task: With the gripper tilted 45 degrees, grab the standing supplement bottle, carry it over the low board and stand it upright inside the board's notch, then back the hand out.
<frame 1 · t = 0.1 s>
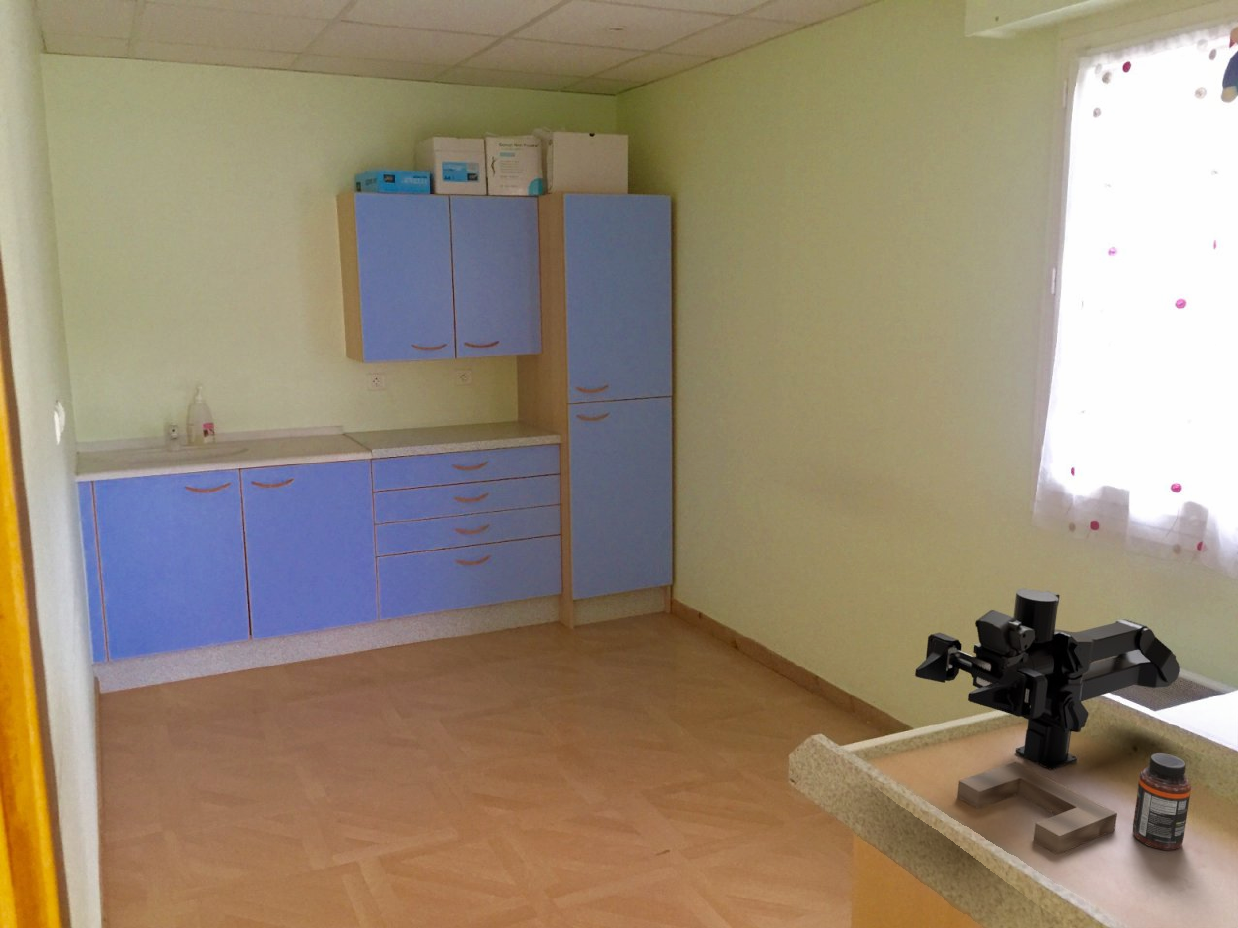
hand: (942, 684, 141), 17 cm above the worktop, tool horizontal, fingers open, 9 cm apart
supplement bottle: (1156, 840, 136), on the worktop
notched board: (1024, 816, 140), on the worktop
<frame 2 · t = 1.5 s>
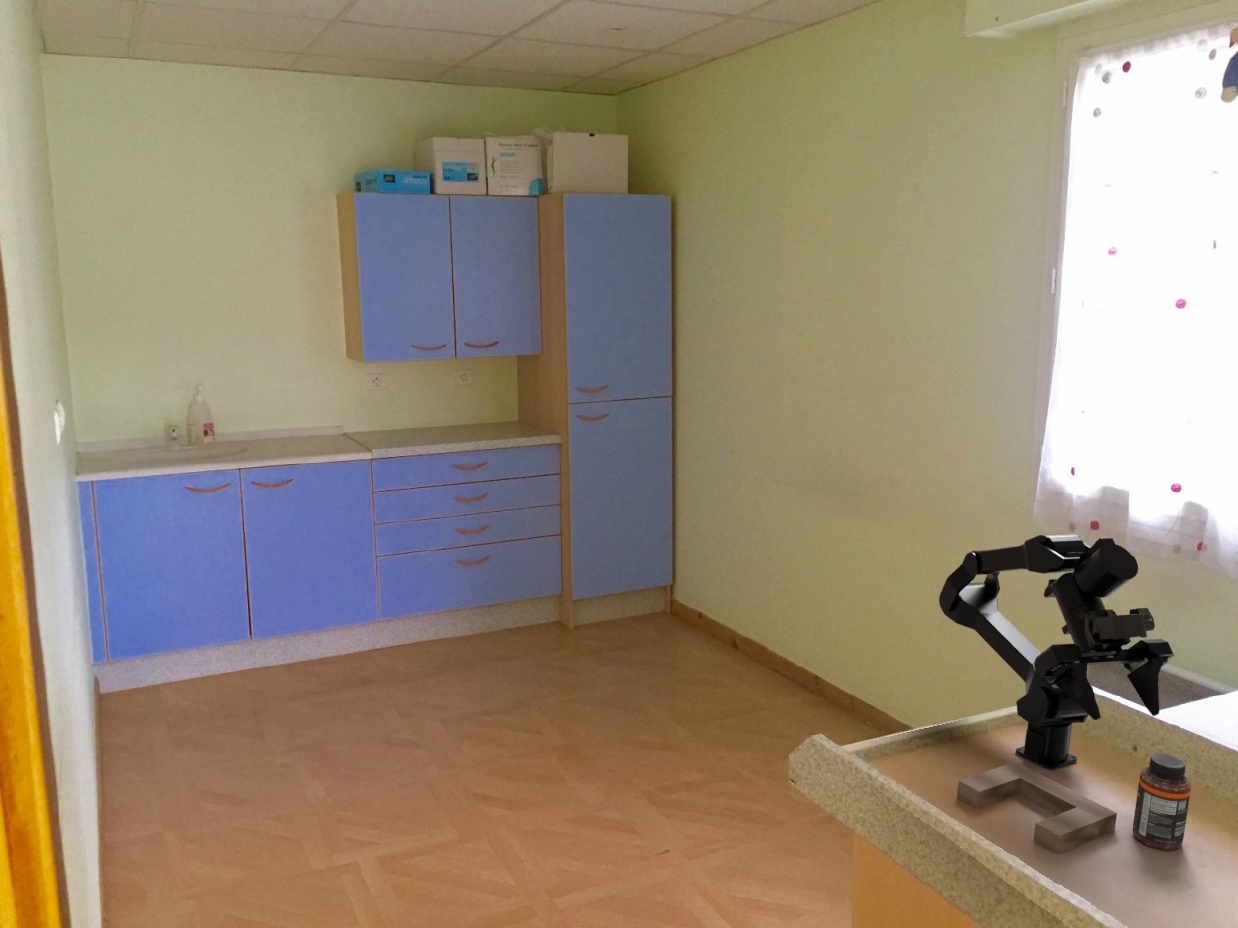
hand: (1127, 716, 141), 13 cm above the worktop, tool tilted 45°, fingers open, 9 cm apart
nothing on the worktop moved.
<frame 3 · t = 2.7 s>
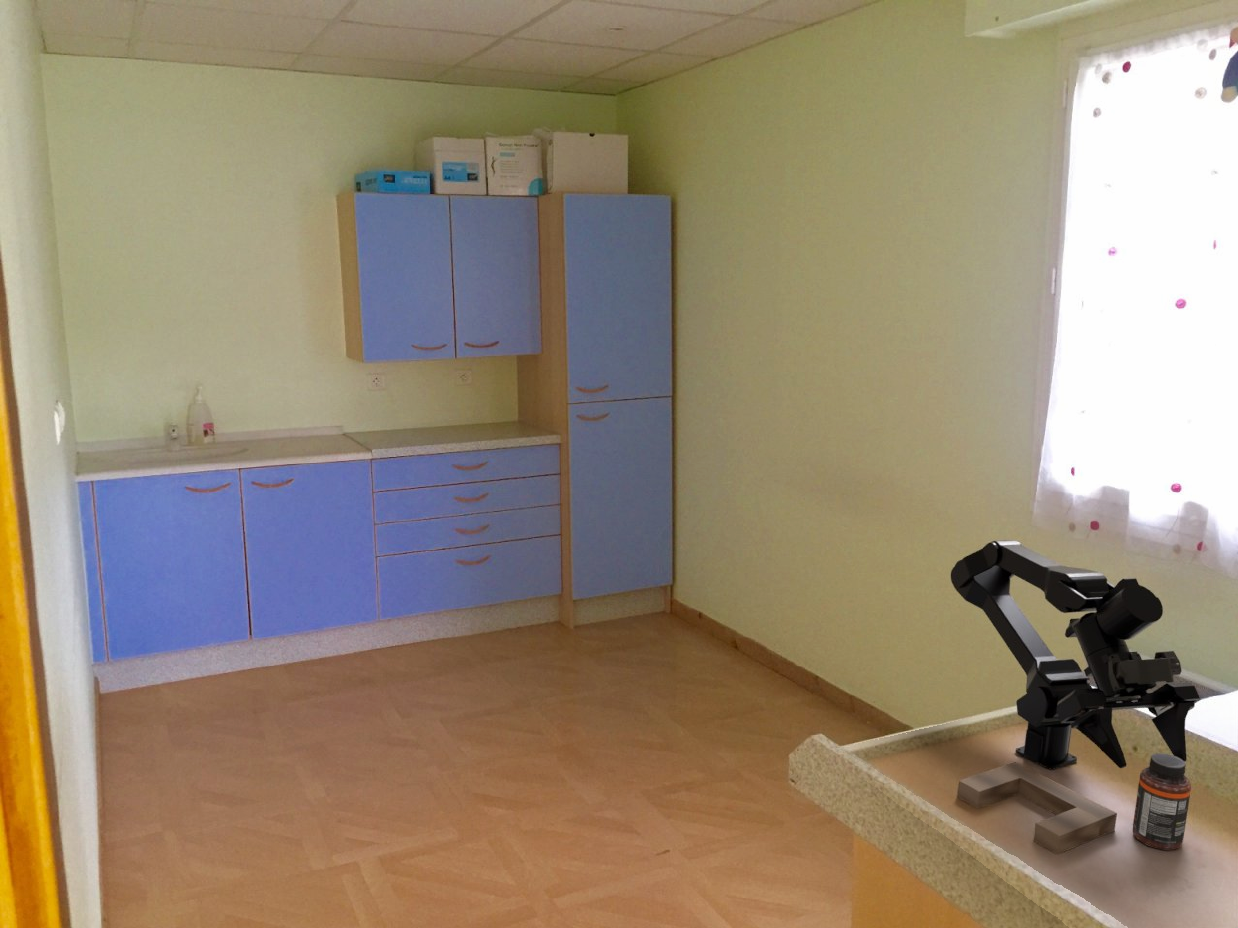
hand: (1153, 764, 136), 9 cm above the worktop, tool tilted 45°, fingers open, 9 cm apart
nothing on the worktop moved.
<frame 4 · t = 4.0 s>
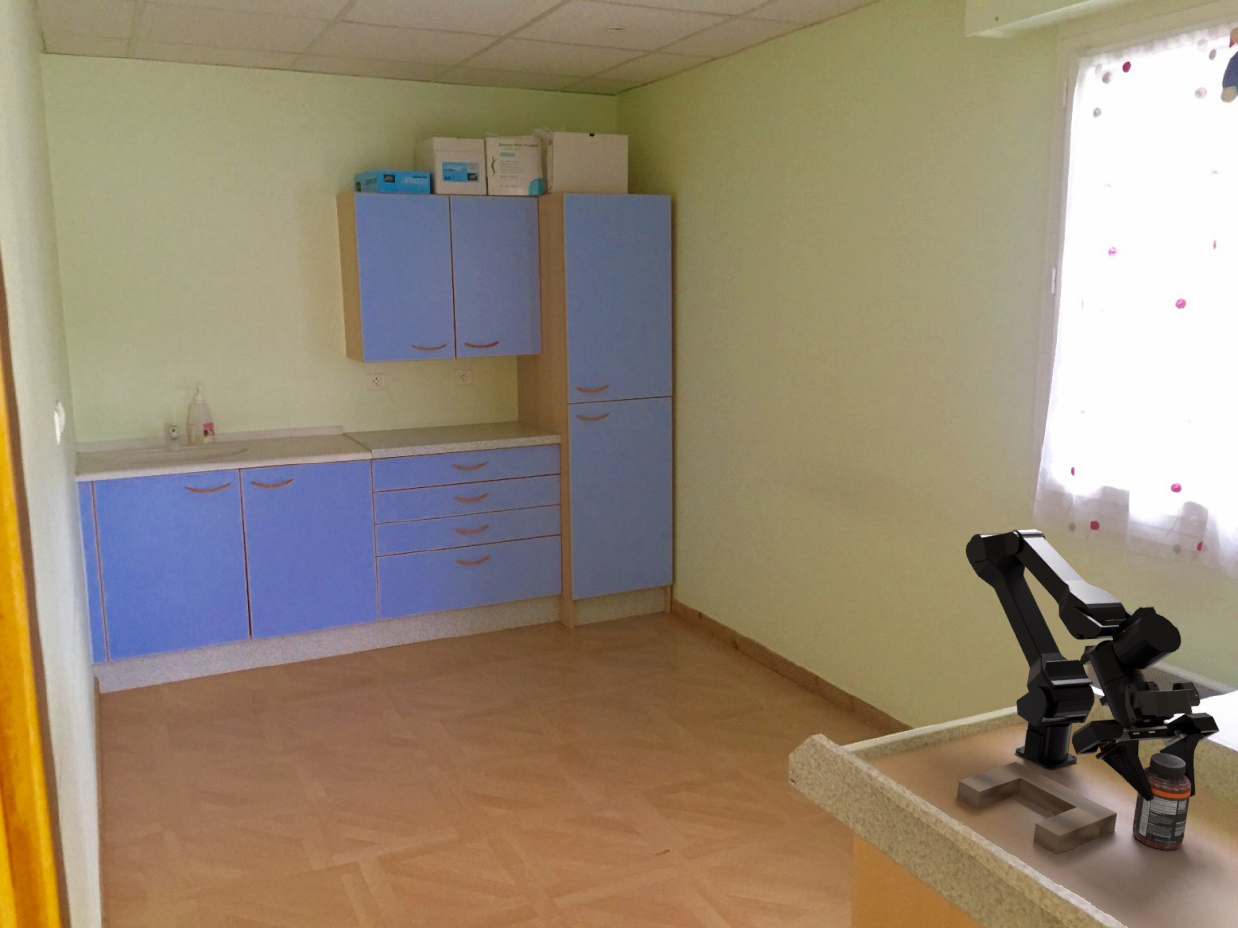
hand: (1171, 798, 133), 7 cm above the worktop, tool tilted 45°, fingers closed on supplement bottle, 6 cm apart
supplement bottle: (1156, 840, 136), on the worktop, touching gripper
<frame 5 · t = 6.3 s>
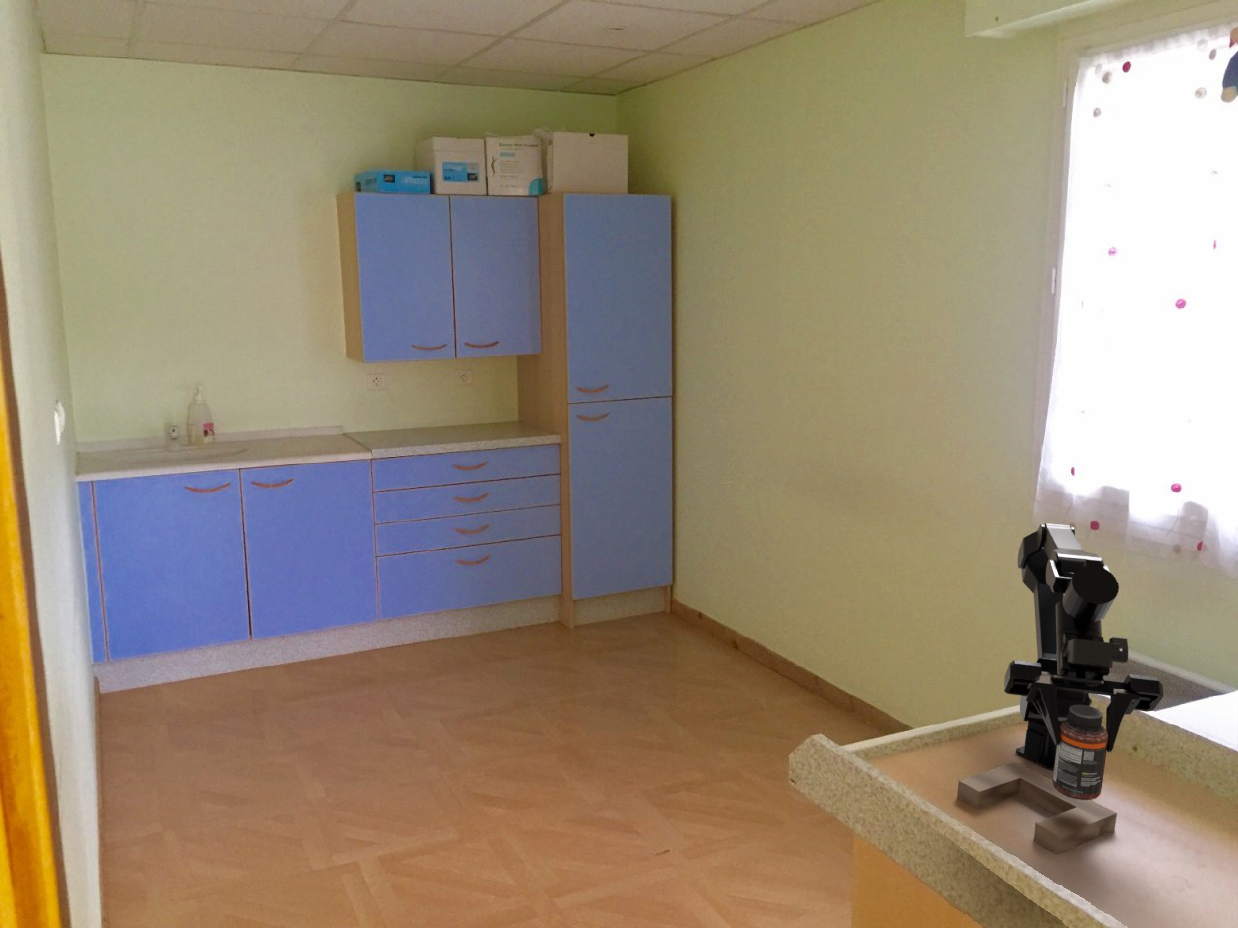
hand: (1083, 747, 134), 12 cm above the worktop, tool tilted 45°, fingers closed on supplement bottle, 6 cm apart
supplement bottle: (1075, 791, 136), point 5 cm above the worktop, touching gripper
when the fingers open (8 cm above the worktop, at t = 8.3 s): supplement bottle drops 1 cm, on the worktop.
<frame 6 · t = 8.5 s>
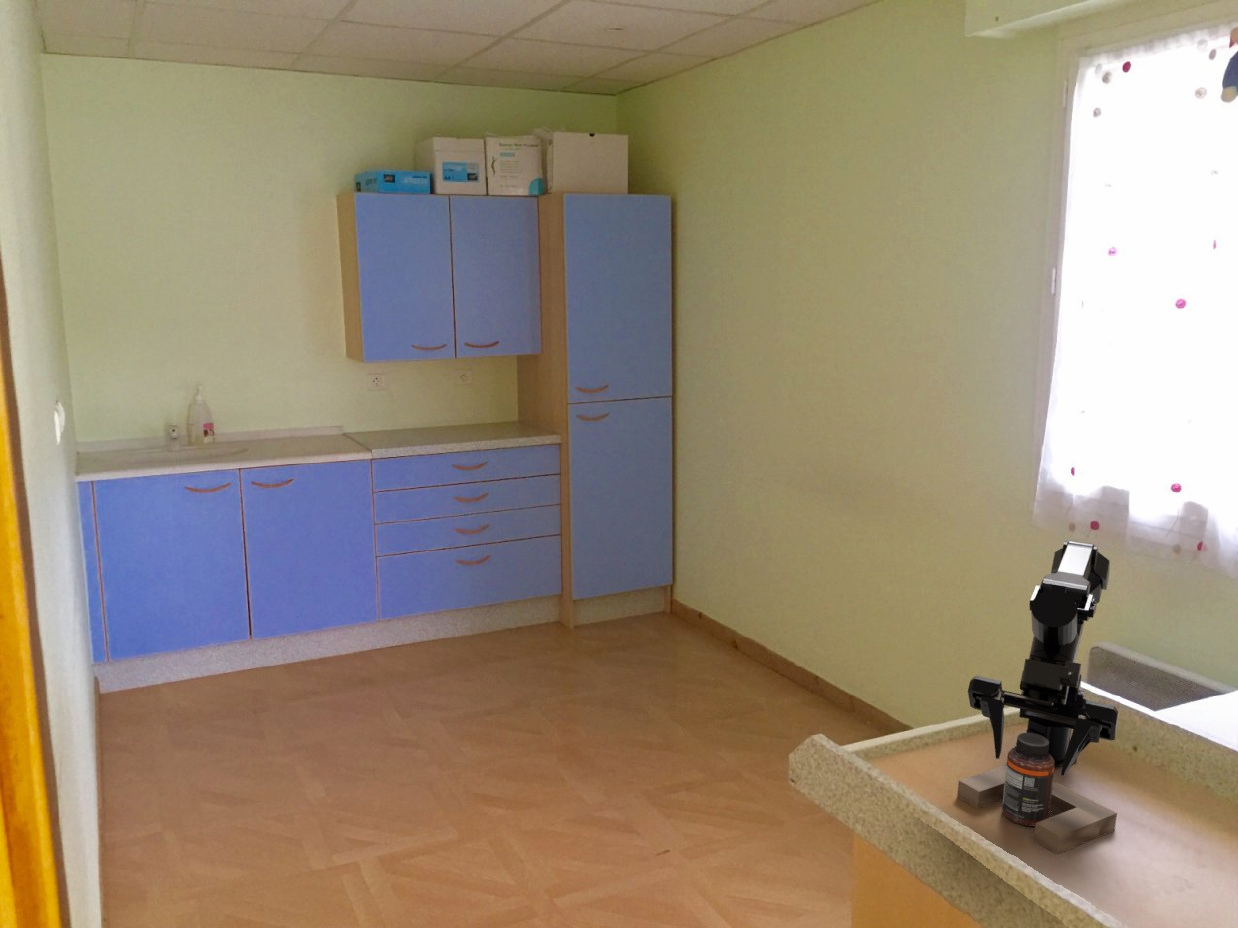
hand: (1029, 765, 137), 8 cm above the worktop, tool tilted 45°, fingers open, 8 cm apart
supplement bottle: (1024, 817, 140), on the worktop
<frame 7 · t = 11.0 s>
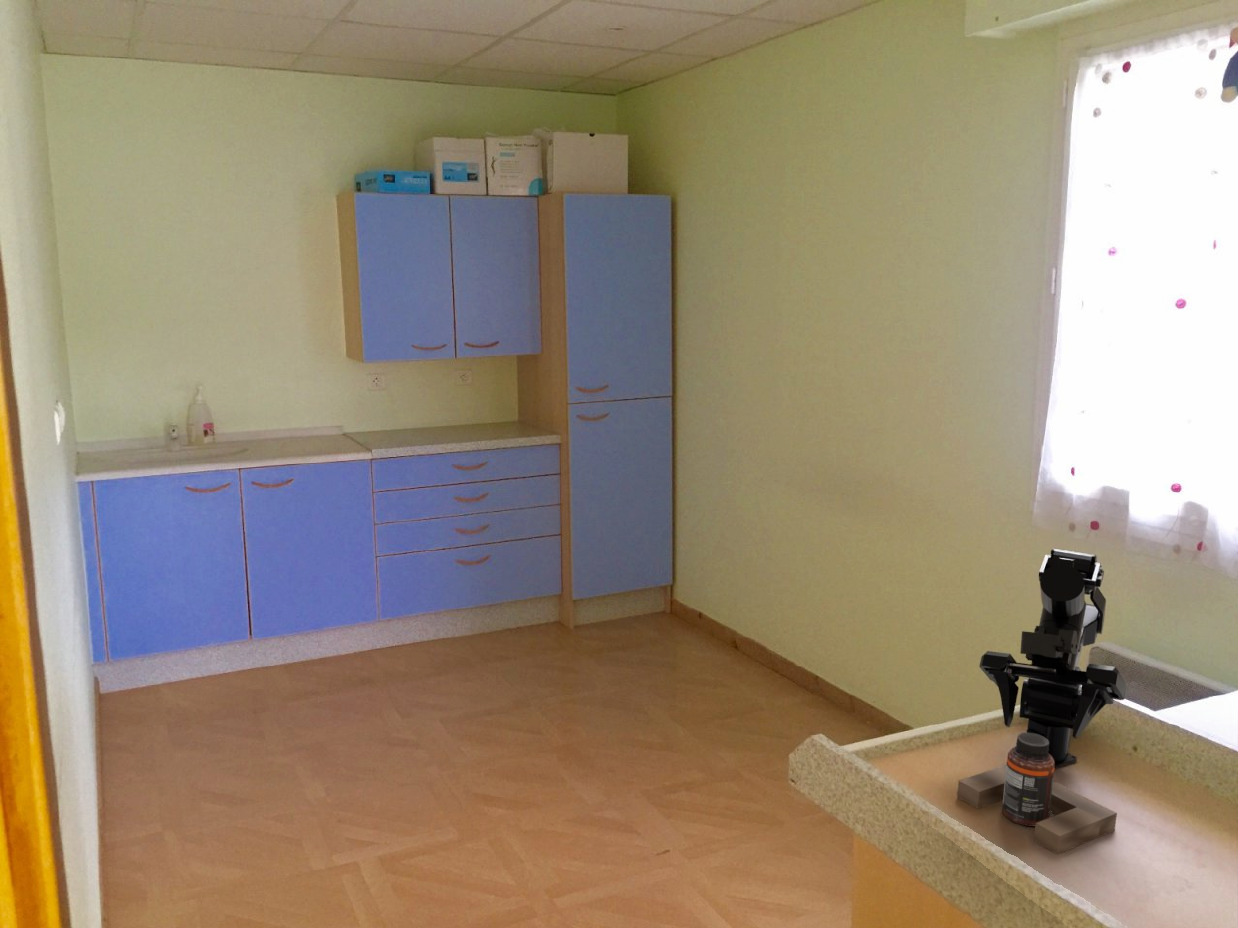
hand: (1040, 731, 145), 9 cm above the worktop, tool tilted 40°, fingers open, 9 cm apart
nothing on the worktop moved.
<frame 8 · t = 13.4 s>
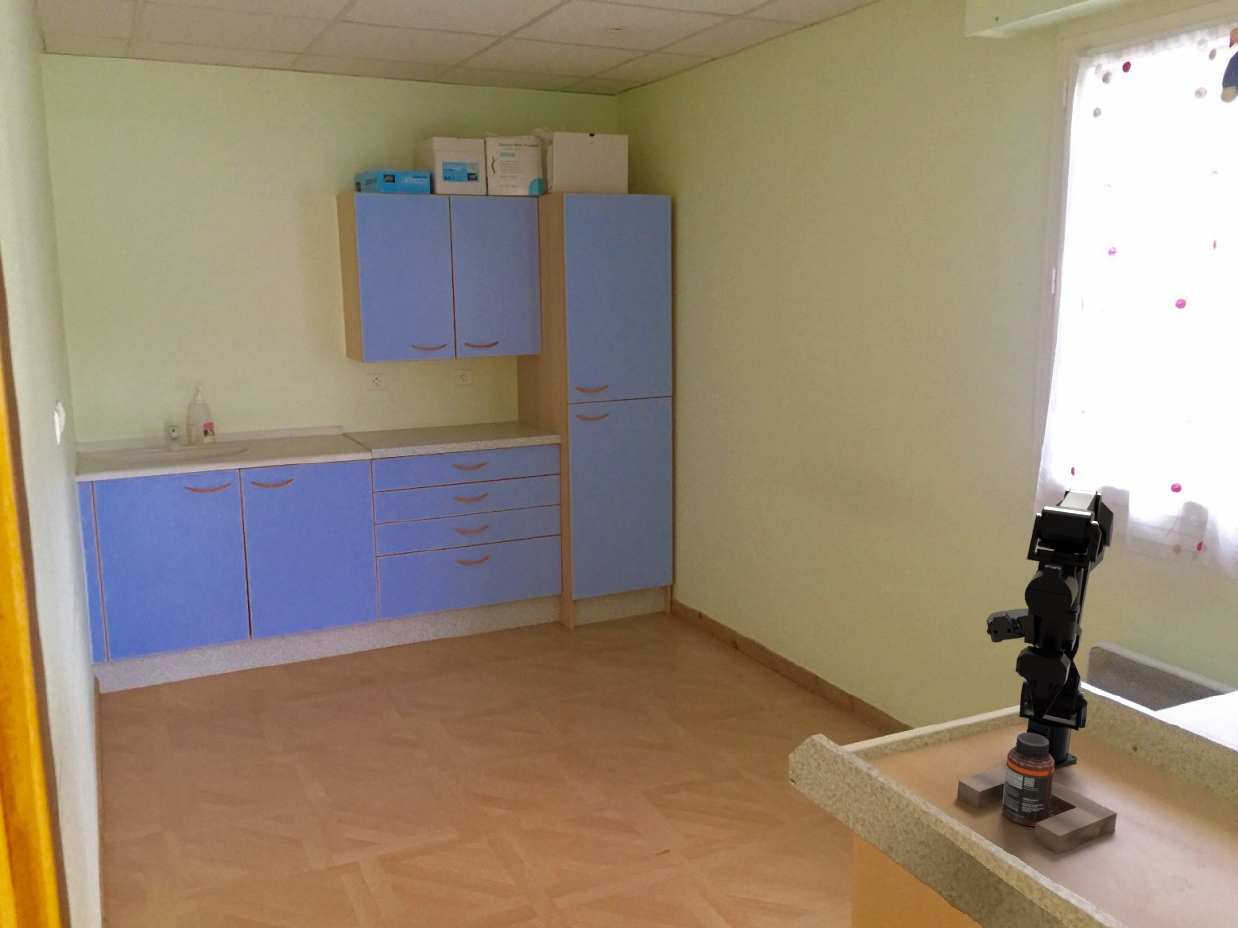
hand: (1043, 705, 145), 13 cm above the worktop, tool pointing down, fingers open, 9 cm apart
nothing on the worktop moved.
at the end: supplement bottle 0.1 cm off-centre on the notched board, point 0.0 cm above the notched board's base; supplement bottle tilted 0°; the gripper is holding nothing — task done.
